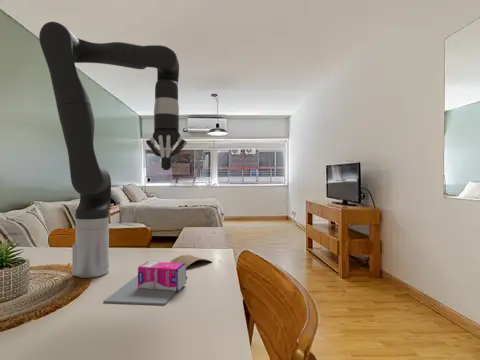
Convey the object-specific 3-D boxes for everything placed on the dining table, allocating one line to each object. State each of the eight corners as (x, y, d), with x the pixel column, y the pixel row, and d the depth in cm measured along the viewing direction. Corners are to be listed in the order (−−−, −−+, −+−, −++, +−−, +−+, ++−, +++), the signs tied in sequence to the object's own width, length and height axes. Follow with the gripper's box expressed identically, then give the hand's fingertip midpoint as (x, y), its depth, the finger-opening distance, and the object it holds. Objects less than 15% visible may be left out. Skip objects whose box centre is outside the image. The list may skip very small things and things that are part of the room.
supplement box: (178, 291, 80) (137, 288, 82) (186, 283, 85) (148, 281, 88) (177, 269, 80) (136, 266, 82) (186, 262, 85) (147, 260, 88)
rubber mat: (103, 302, 74) (103, 300, 74) (138, 276, 94) (138, 274, 94) (165, 305, 72) (165, 303, 72) (187, 277, 92) (187, 276, 92)
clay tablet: (183, 272, 99) (183, 264, 99) (163, 267, 105) (163, 258, 105) (215, 263, 110) (215, 255, 110) (195, 258, 116) (195, 251, 116)
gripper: (190, 116, 101) (190, 170, 101) (150, 117, 102) (150, 170, 102) (184, 111, 93) (183, 169, 93) (141, 112, 94) (141, 169, 94)
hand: (166, 170), depth 98 cm, fingers closed
